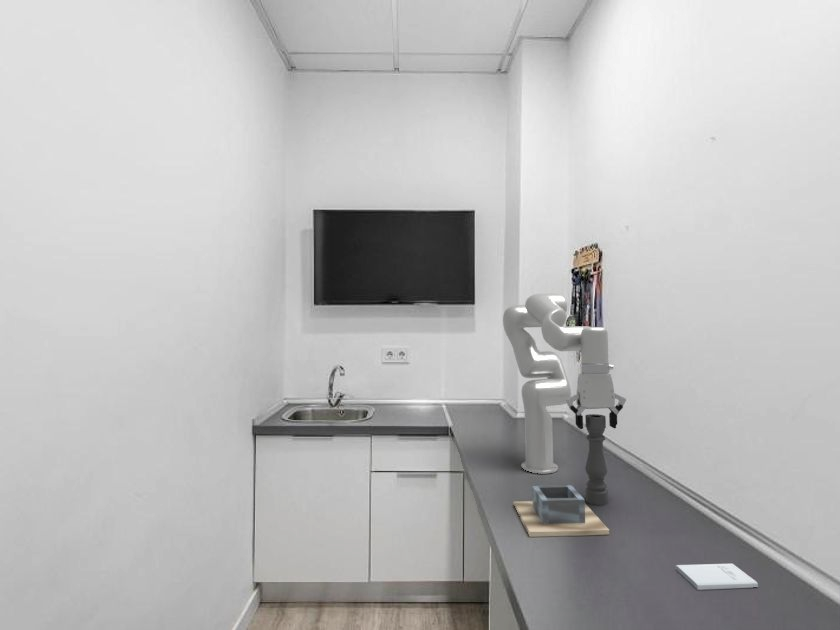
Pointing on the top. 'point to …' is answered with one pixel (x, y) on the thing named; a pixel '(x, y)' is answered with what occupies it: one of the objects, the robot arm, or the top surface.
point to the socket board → (558, 513)
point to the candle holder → (596, 460)
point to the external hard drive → (716, 576)
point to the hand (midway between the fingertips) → (596, 427)
